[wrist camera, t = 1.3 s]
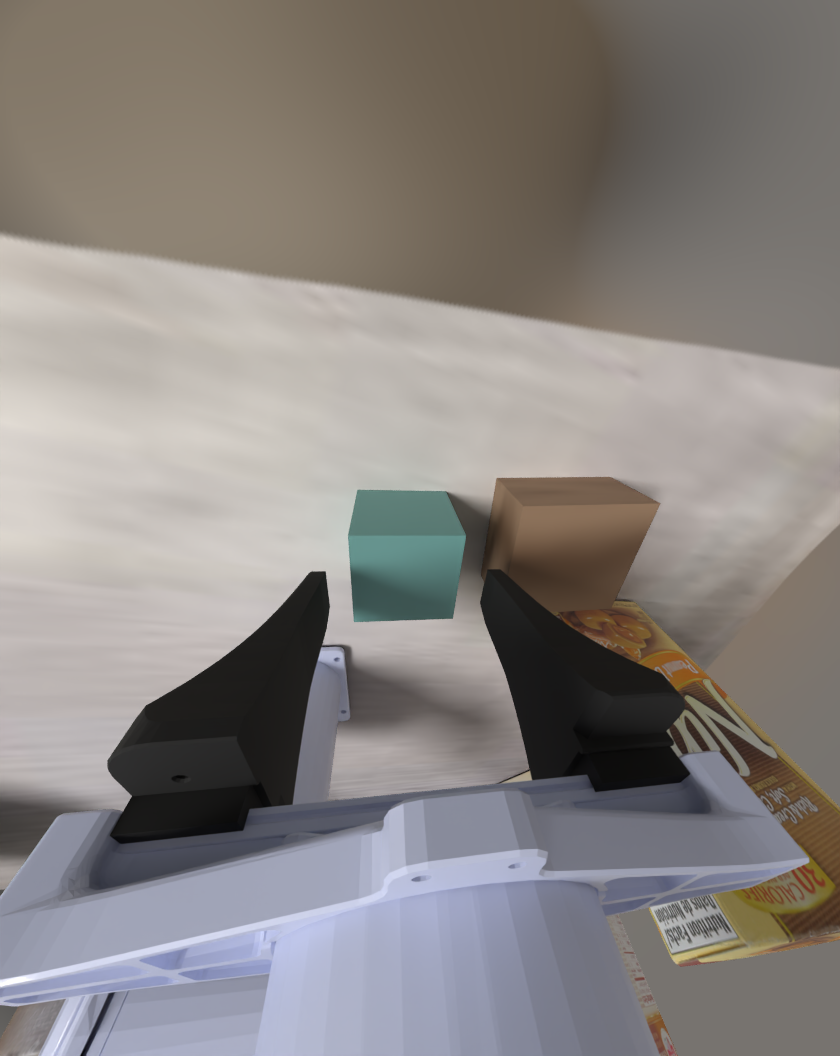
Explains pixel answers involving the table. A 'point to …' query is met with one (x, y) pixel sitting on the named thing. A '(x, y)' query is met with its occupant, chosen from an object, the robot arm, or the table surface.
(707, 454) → the table surface
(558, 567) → the block
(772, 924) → the candy box
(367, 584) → the teal cube
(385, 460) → the table surface
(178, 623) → the table surface
